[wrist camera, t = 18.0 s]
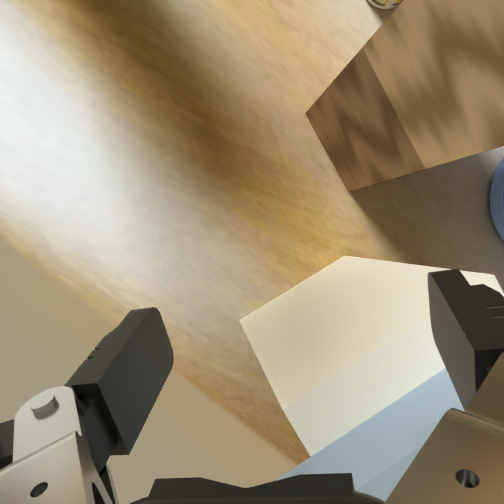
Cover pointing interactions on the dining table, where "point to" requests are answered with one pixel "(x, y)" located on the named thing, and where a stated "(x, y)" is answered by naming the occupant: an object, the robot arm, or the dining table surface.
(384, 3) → the supplement bottle
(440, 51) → the brown tall rectangular block
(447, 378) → the bar
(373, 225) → the dining table surface
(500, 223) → the water jug
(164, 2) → the dining table surface
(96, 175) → the dining table surface
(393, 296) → the pedestal
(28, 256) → the dining table surface
